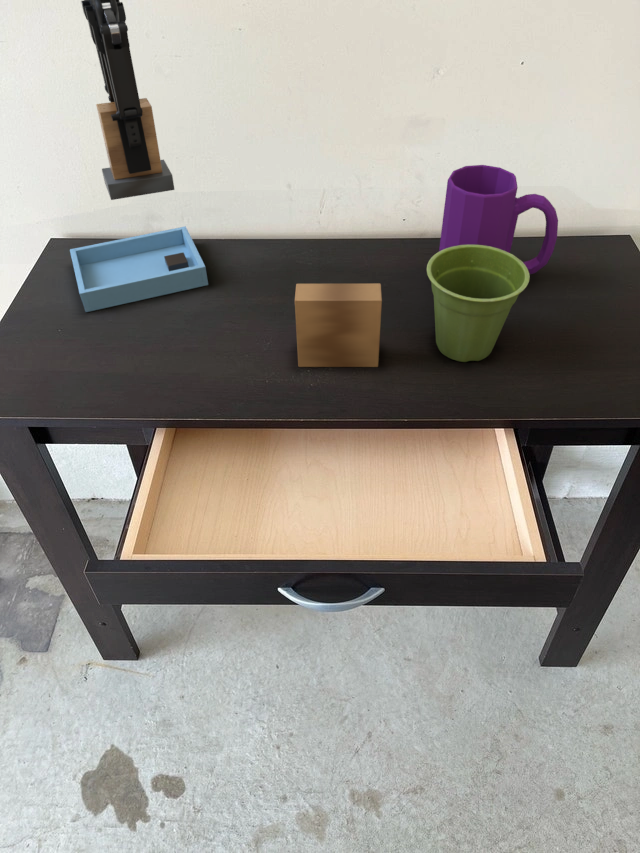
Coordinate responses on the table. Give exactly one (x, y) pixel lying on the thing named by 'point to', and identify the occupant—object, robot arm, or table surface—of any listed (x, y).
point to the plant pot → (473, 297)
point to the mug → (492, 212)
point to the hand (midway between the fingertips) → (137, 164)
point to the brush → (118, 174)
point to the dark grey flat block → (176, 261)
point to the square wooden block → (338, 324)
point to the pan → (136, 268)
